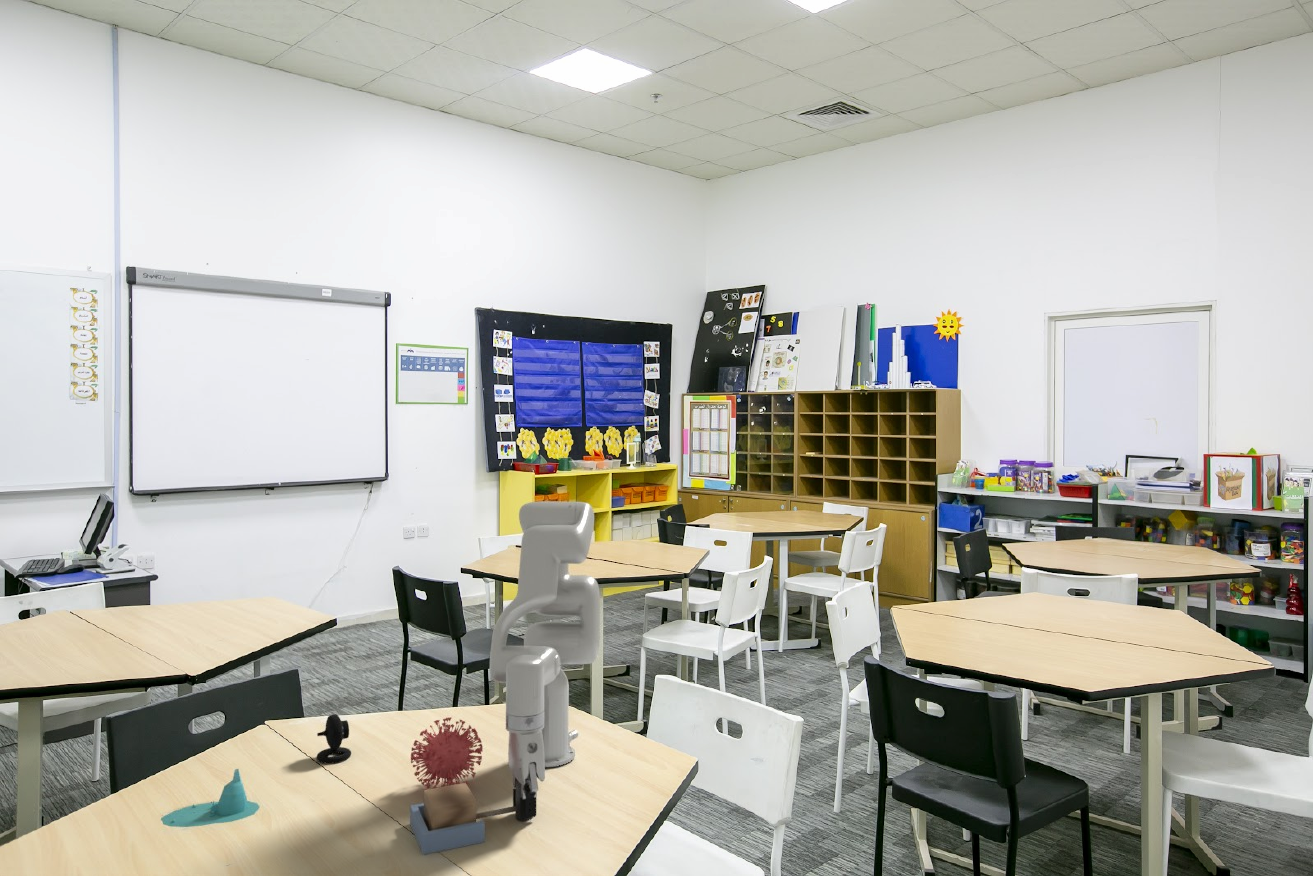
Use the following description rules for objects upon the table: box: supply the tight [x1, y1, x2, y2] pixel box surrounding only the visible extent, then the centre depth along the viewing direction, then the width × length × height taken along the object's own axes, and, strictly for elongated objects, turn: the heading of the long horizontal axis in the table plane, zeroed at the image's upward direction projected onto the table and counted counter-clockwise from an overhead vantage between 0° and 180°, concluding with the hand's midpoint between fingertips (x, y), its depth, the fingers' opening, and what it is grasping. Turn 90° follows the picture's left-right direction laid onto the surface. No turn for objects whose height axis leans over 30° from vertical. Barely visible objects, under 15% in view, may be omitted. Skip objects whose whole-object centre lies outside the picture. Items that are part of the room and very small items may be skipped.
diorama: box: [160, 768, 260, 828], centre depth 167 cm, size 12×20×9 cm, turn 105°
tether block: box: [423, 778, 534, 831], centre depth 162 cm, size 20×9×7 cm, turn 116°
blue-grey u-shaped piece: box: [409, 802, 486, 856], centre depth 159 cm, size 11×13×4 cm
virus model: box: [410, 717, 483, 789], centre depth 178 cm, size 15×15×15 cm
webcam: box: [316, 714, 352, 764], centre depth 195 cm, size 8×8×10 cm
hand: (524, 811), depth 166 cm, fingers open, 3 cm apart
